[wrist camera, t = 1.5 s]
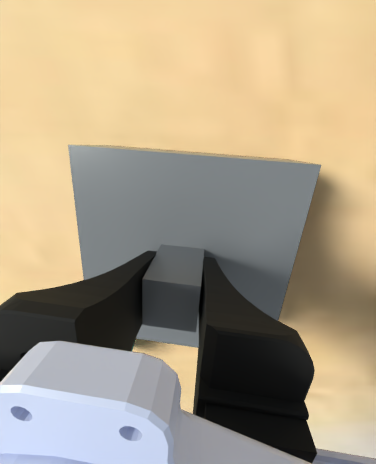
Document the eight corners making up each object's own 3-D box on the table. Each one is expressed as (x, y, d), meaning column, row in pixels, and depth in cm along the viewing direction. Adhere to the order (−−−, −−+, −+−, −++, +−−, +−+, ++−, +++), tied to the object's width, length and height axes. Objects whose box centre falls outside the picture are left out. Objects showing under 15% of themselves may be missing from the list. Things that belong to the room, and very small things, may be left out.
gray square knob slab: (255, 308, 19) (283, 419, 11) (118, 290, 20) (56, 381, 12) (288, 159, 14) (372, 173, 7) (110, 145, 15) (6, 143, 8)
